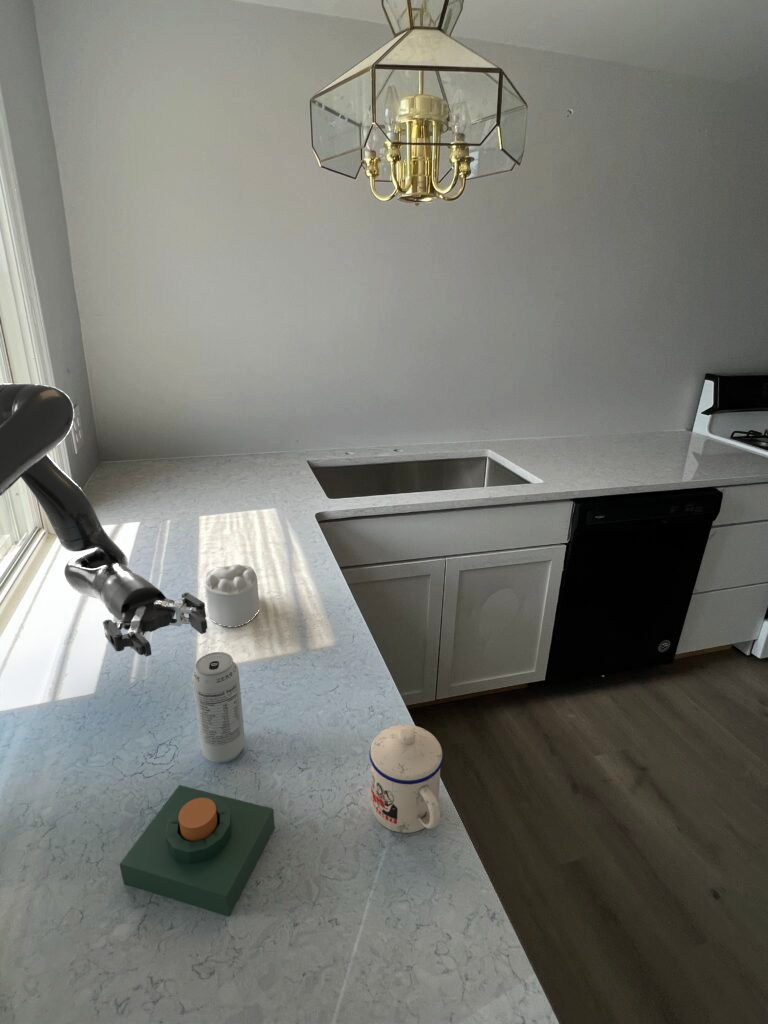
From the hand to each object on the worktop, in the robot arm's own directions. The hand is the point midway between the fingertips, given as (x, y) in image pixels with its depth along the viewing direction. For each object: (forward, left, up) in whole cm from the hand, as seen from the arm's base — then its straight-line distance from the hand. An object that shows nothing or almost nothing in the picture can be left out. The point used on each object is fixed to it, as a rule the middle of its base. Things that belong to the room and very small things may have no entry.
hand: (177, 638), depth 82 cm
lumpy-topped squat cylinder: (-8, +30, -14) cm, 34 cm away
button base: (+15, -20, -14) cm, 29 cm away
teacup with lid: (+38, -8, -14) cm, 41 cm away
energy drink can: (+9, -5, -14) cm, 18 cm away
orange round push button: (+16, -20, -9) cm, 27 cm away
